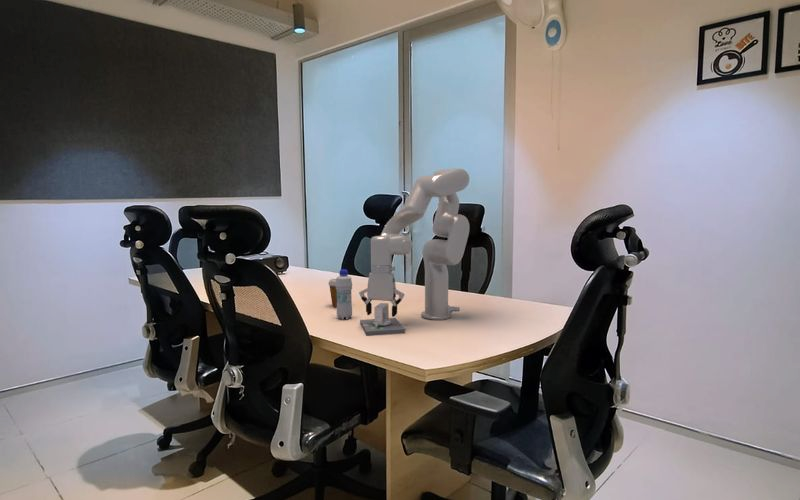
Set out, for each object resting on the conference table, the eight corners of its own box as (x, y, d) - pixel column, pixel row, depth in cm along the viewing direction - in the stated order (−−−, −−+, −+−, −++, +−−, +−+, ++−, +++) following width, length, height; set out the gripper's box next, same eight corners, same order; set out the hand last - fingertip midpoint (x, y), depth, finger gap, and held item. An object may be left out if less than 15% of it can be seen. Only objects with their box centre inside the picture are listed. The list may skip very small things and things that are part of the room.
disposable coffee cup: (348, 308, 211) (348, 281, 210) (327, 308, 211) (326, 282, 210) (351, 304, 221) (350, 278, 219) (330, 304, 221) (330, 278, 219)
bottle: (349, 320, 191) (349, 270, 189) (333, 319, 192) (332, 270, 190) (354, 316, 197) (354, 268, 195) (339, 315, 198) (338, 267, 196)
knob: (393, 321, 182) (393, 303, 181) (385, 328, 172) (385, 309, 171) (376, 320, 184) (375, 302, 183) (367, 327, 174) (366, 308, 173)
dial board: (395, 321, 189) (395, 317, 189) (405, 333, 172) (405, 328, 172) (360, 323, 186) (360, 319, 186) (366, 335, 169) (366, 331, 169)
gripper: (406, 268, 178) (406, 314, 180) (362, 267, 183) (363, 311, 185) (401, 271, 171) (401, 319, 173) (355, 270, 176) (356, 316, 177)
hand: (381, 315), depth 179 cm, fingers open, 9 cm apart
